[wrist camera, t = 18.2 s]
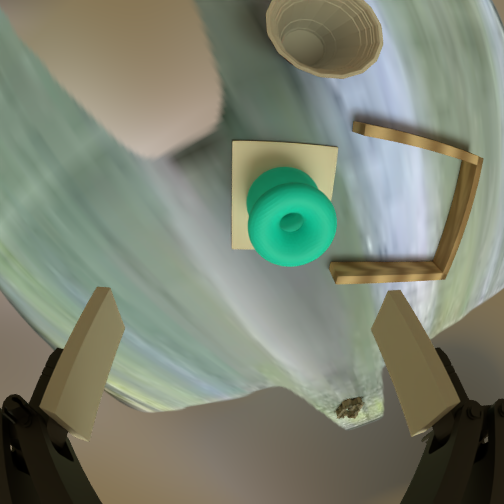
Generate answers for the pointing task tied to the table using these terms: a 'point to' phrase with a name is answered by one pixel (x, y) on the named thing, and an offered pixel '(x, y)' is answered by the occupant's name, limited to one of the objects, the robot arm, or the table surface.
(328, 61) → the plastic cup
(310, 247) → the donuts
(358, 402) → the rough brown lump
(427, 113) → the table surface
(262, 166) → the beige mat
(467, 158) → the wooden u-shaped frame
